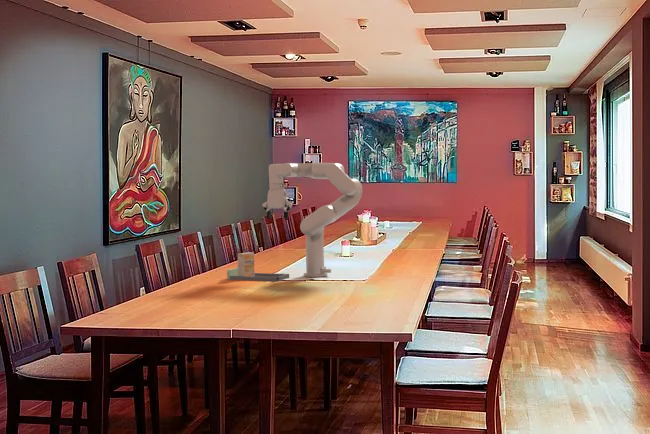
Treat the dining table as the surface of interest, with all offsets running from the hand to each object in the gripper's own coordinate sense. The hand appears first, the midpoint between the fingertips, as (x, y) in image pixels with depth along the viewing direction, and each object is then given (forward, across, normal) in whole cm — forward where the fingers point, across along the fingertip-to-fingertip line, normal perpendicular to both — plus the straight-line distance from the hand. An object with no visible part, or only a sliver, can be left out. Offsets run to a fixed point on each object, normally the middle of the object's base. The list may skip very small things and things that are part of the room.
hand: (277, 219), depth 417 cm
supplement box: (+30, +13, +14) cm, 35 cm away
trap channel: (+30, +5, +14) cm, 34 cm away
